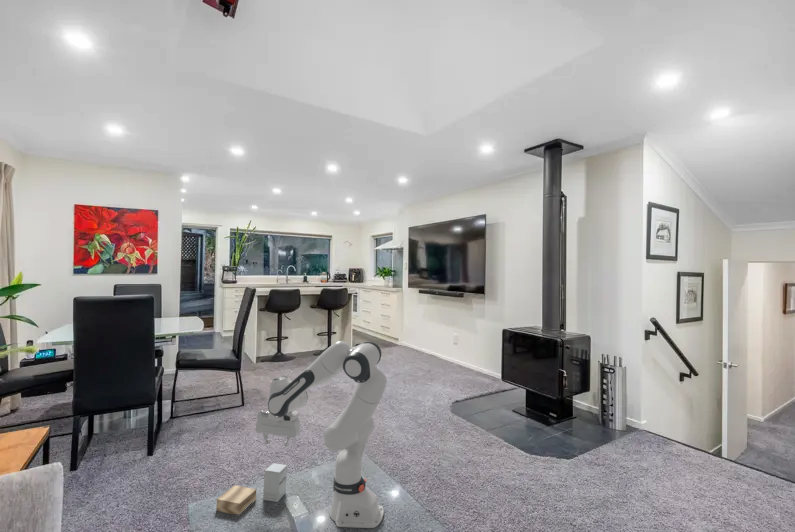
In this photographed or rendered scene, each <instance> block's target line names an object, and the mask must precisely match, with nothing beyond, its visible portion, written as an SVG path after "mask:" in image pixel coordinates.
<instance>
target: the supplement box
mask: <svg viewBox="0 0 795 532" xmlns="http://www.w3.org/2000/svg"><path fill="white" fill-rule="evenodd" d="M287 473H288V465H287V464H282V463H275V462H273V463H271V464H270V465H269V466H268V467H267V468H266V469H265V470H264V475H263V478H264V479H263V493H262V494H263V495H262V496H263V497H262V499H263V500H264V501H269V502H276V503H278V502H279V501H280V500H281V498H283V496H284V495H285V494H286V493H287V476H288V475H287Z"/></svg>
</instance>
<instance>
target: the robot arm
mask: <svg viewBox="0 0 795 532" xmlns="http://www.w3.org/2000/svg"><path fill="white" fill-rule="evenodd" d="M381 358H382V349H381V347H380V345H379V344H377V342H374V341H363V342H361V343H356V344H355V345H354V346H351V345H350V344H349V343H348V342H347V341H344V340H338V341H336V342H334V343H333V344H331V345H329V347H327V348H326V349H325V350H324V351H323V352H322V353H321V354H320V355H319V356H318V357H316V359H315V360H314V361H313V362H312V363H311V364H310V365H309V366H308V367H307V368H305V370H304V371H302V372H301V373H300V374H299V375H298V376H296V378H294V380H291V379H290V377H288V376H284V375H283V376H280V377H279V376H278V377H275V378H273V379H272V380H271V382H270V385H269V395H268V398H269V399H268V402H267V411H263V410H261V411H259V412H258V413H257V417H256V424H255V426H256V427H255V432H256V433H257V434H262V436H263V439H264V444H267V445H268V444H270V443H271V442H270V441H271V438H269V436H268V435H272V436H281V437H285V438H286V439H287V440H285V441H284V442H283V444H284V445H283V447H289V446H290V441H291V440H292V438H297V437H298V436H299V435H300V433H301V432H300V431H301V423H300V418H299V416H300V413H299V411H297V410H298V409H301V408H302V407H304V406H306V404H307V402H308V399H309V398H308V392H307V390H309V389H311V388H314V387H315V386H319V385H322V384H324V383H326V382H329V381H331V380H332V379H334V378H335V377H336V376H337V375H339V374H340V373H341V372H342V371H343V372H344V373H345V375H346V376H347V377H348V378H350V379H352V380H353V381H354V382H356V383H357V386H356V388H355V390H354V392H353V394H352V396H351V397H350V400H349V402H348V403H347V405H346V406H345V407H344V409H343V410H342V411H341V412H340V414H339V415H338V416H337V417H336V419H335V420H334V421H333V422H332V423H331V424H329V426H328V427H327V428H326V429H325V430H324V431H323V432H324V433H323V444H324V445H325V447H326V448H327V450H329V452H332V453H333V452H338V454H337V456H336V458H335V462H334V465H335V466H334V467H335V469H334V477H333V483H332V484H333V485H332V490H333V495H332V496H333V497H332V504H331V507H330V510H329V517H330V518H331V520H332V521H333V522H334V523H335V525H336V527H338V528H357V529H358V528H359V529H360V528H361V529H374V528H376V527H378V526H379V525H380V524H381V522H382V520H383V519H384V514H385V513H384V507H383V506H382V505H379V500H378V496H377V495H376V494H375V493H374V492H373V491H372V490H371V489H370V488H368V487H367V486H366V485H367V484H366V483H367V478H365V479H364V478H363V476H362V469H363V467H362V466H363V459H364V458H363V457H364V455H365V454H364V453H365V450H366V447H367V444H368V441H369V438H370V436H371V435H372V434H373V432H374V429H375V422H374V419H373V415H374V414H375V411H376V410H377V407H378V405H379V403H380V401H381V400H382V399H383V398H382V397H383V394H384V392H385V389H386V386H387V376H386V375H385V374H384V372H382V371H381V370H379V369H378V368H377V366H376V365H378V364H379V363H380V361H381Z"/></svg>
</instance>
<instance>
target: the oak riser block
mask: <svg viewBox="0 0 795 532" xmlns="http://www.w3.org/2000/svg"><path fill="white" fill-rule="evenodd" d="M255 500H256V501H257V489H256V488H253V487H247V486H242V485H237V484H236V485H233V486H232V487H231V488H229V489H228V490H227V491H225V492H224V493H222V495H220V496H219V497H218V498H216V511H217V512H221V513H226V514H231V515H234V514H240V513H241V512H243V511H244V510H245V508H246V507H247V506H248V505H249V504H250V503H252V502H253V501H255ZM256 501H255V502H256ZM252 504H253V503H252ZM245 511H246V510H245ZM245 511H244V512H245ZM244 512H243V513H244ZM241 514H242V513H241ZM241 514H240V515H241Z"/></svg>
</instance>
